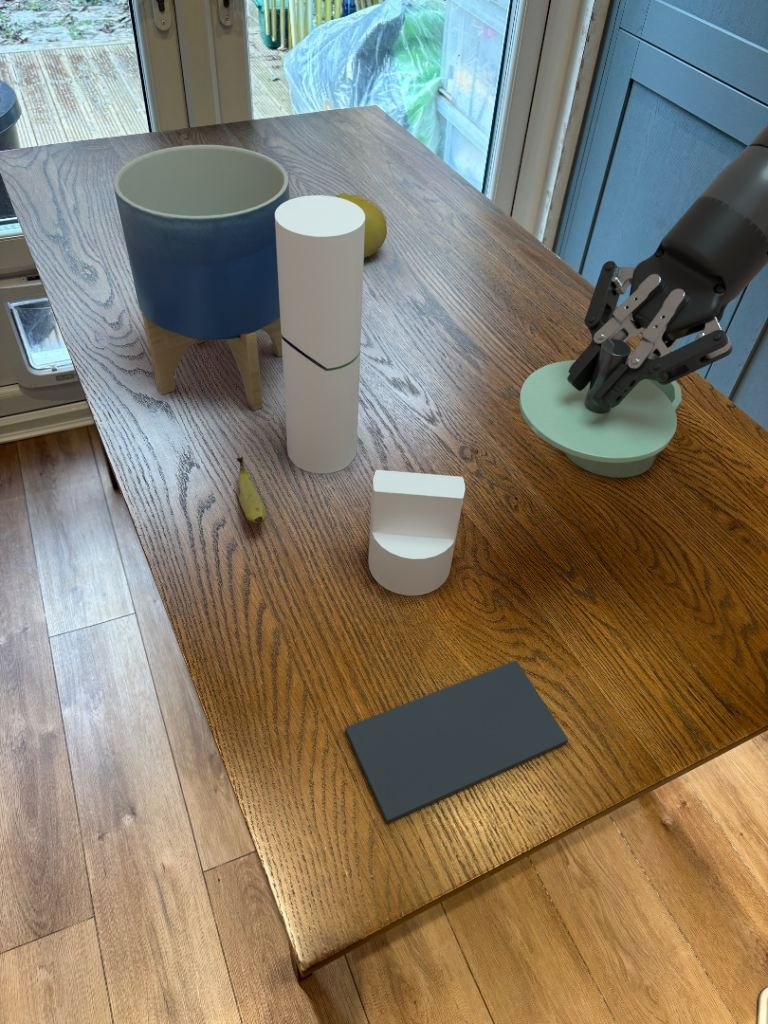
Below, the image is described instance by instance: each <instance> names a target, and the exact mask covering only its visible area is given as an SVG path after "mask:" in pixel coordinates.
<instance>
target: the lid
mask: <svg viewBox="0 0 768 1024" xmlns="http://www.w3.org/2000/svg"><path fill="white" fill-rule="evenodd" d="M631 354H632V348H631V346H630V344H628V343H627V342H623V341H621V340H617V339H608V340H605V341H604V342H603V343H602V345H601V348H600V351H599V355H598V358H597V361H596V365H595V368H594V371H593V375H592V378H591V381H590V382H589V383H588V385H587V386H586V387H585V388H584V389H583V390H581V391H578V390H577V389H576V388H575V387H573V386H572V385H571V384H570V383H569V382H568V381H567V378H568V376H569V375H570V373H569V369H570V367H571V365H572V364H573V363H574V362H575V361H576V360H577V359H570V360H562V361H558V362H556V361H555V362H553V363H549V364H546V365H544V366H542V367H539V368H537V369H536V370H534V371H533V372H532V373H531V374H530V375H528V377H527V378H526V379H525V381H524V382H523V384H522V386H521V388H520V392H519V396H518V405H519V410H520V414H521V416H522V418H523V420H524V422H525V423H526V424H527V425H528V427H529V428H530V429H531V430H532V431H533V433H535V435H536V436H538V437H539V438H540V439H542V440H543V441H544V442H545V443H547V444H549V445H550V446H552V447H554V448H556V449H558V450H559V451H562V452H563V451H564V452H566V453H568V454H571V455H574V456H577V457H580V458H583V459H588V460H592V461H598V462H607V463H626V462H634V461H639V460H643V459H646V458H648V457H651V456H653V455H655V454H657V453H659V454H660V452H662V451H663V450H664V449H665V448H667V446H669V444H670V443H671V442H672V440H673V438H674V436H675V434H676V430H677V427H678V417H677V413H676V412H675V409H674V406H673V405H672V403H671V401H670V400H669V398H668V397H667V396H666V395H665V393H664V392H663V391H661V390H660V389H659V388H658V387H657V386H656V385H655V384H653V383H652V382H650V381H649V380H647V379H644V380H641V381H640V382H639V383H638V384H637V385H636V386H635V387H634V388H633V389H632V390H631V391H630V393H629V394H628V395H626V397H625V398H624V399H623V400H622V401H621V403H620V404H619V405H617V406H615V407H614V408H611V407H609V408H608V409H607V410H602V409H601V408H600V407H598V406H597V405H596V404H595V403H594V402H593V401H592V397H593V395H594V394H595V393H596V391H597V390H598V389H599V388H600V387H601V386H602V385H603V384H604V382H605V381H606V380H607V379H608V378H609V377H610V376H611V375H612V373H613V372H614V371H615V370H616V369H617V368H618V367H619V366H620V365H621V363H622V364H624V365H626V364H627V362H628V359H629V356H631ZM564 452H563V453H564Z"/></svg>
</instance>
